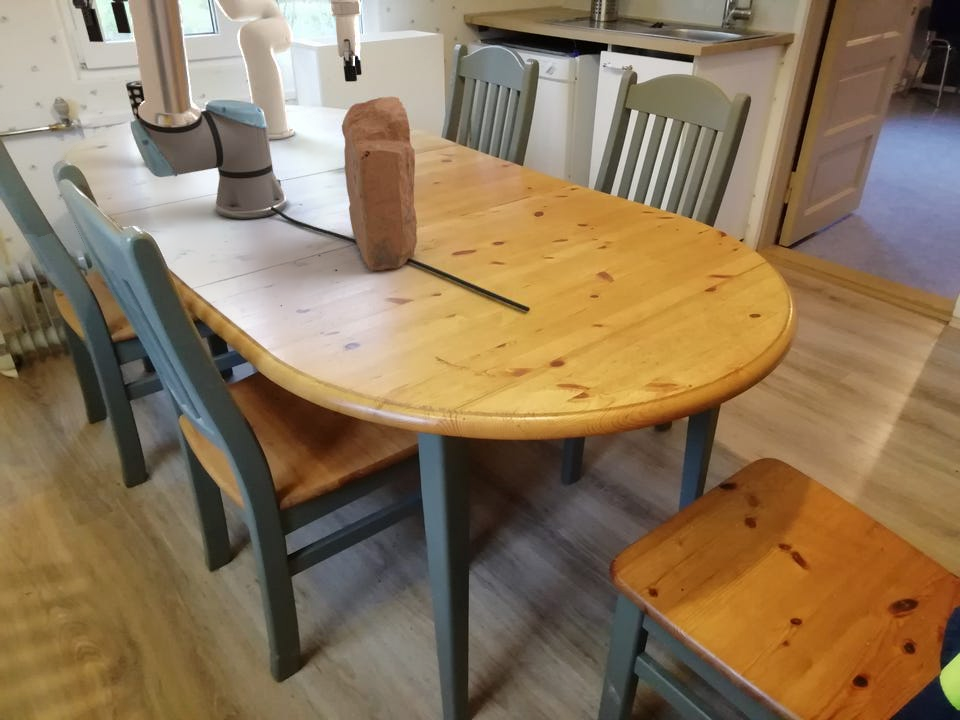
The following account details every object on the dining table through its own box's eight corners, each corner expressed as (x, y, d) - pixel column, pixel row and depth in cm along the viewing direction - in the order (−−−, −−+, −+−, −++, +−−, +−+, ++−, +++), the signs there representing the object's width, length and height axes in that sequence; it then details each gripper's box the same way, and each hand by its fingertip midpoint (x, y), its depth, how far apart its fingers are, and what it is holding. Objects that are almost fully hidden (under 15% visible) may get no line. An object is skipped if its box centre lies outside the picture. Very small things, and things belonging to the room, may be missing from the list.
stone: (428, 267, 131) (421, 113, 117) (369, 275, 128) (354, 118, 114) (402, 230, 149) (394, 92, 134) (350, 236, 146) (336, 96, 131)
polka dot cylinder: (184, 157, 190) (167, 80, 179) (169, 166, 183) (151, 87, 172) (155, 156, 190) (136, 79, 179) (139, 165, 183) (119, 86, 172)
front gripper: (94, -73, 157) (120, 29, 168) (32, -72, 136) (66, 45, 147) (127, -73, 157) (150, 30, 168) (70, -72, 136) (101, 45, 147)
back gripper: (337, 6, 190) (344, 73, 199) (326, 13, 175) (335, 84, 184) (364, 6, 190) (370, 72, 199) (355, 12, 175) (363, 83, 184)
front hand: (111, 37), depth 158 cm, fingers open, 13 cm apart
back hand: (353, 78), depth 192 cm, fingers open, 9 cm apart
